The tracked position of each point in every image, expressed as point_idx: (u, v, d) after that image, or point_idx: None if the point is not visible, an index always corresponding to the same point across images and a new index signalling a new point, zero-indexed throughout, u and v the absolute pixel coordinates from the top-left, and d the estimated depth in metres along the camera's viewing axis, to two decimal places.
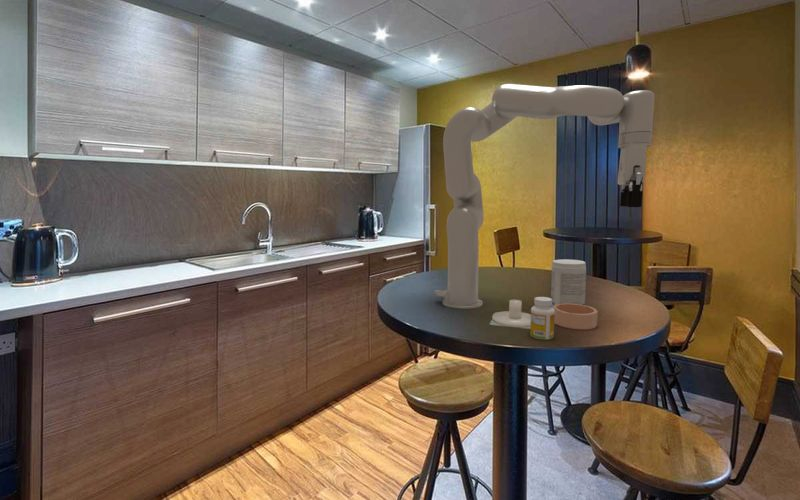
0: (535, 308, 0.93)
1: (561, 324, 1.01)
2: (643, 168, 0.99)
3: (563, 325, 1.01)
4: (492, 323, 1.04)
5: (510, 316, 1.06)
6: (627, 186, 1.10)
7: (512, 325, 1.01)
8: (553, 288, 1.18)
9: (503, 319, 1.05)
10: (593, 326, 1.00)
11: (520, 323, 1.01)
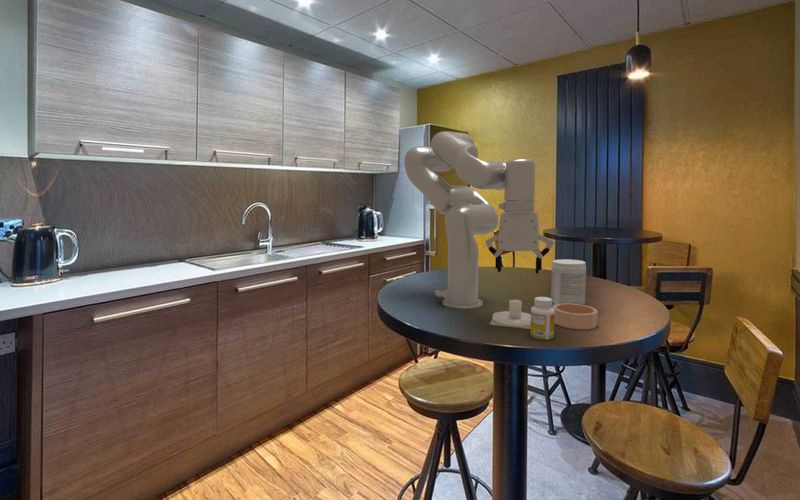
0: (535, 308, 0.93)
1: (561, 324, 1.01)
2: None
3: (563, 325, 1.01)
4: (492, 323, 1.04)
5: (510, 316, 1.06)
6: (496, 251, 1.06)
7: (512, 325, 1.01)
8: (553, 288, 1.18)
9: (503, 319, 1.05)
10: (593, 326, 1.00)
11: (520, 323, 1.01)
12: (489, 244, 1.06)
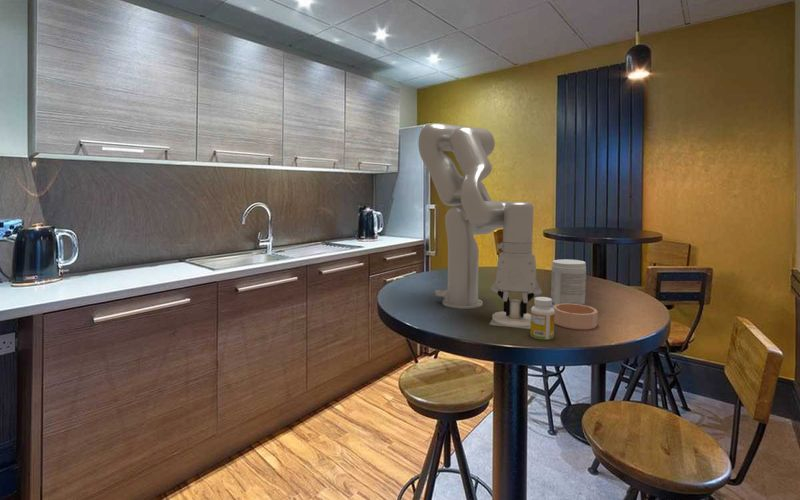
0: (535, 308, 0.93)
1: (561, 324, 1.01)
2: None
3: (563, 325, 1.01)
4: (492, 323, 1.04)
5: (510, 316, 1.06)
6: None
7: (512, 325, 1.01)
8: (553, 288, 1.18)
9: (503, 319, 1.05)
10: (593, 326, 1.00)
11: (520, 323, 1.01)
12: (495, 289, 1.07)
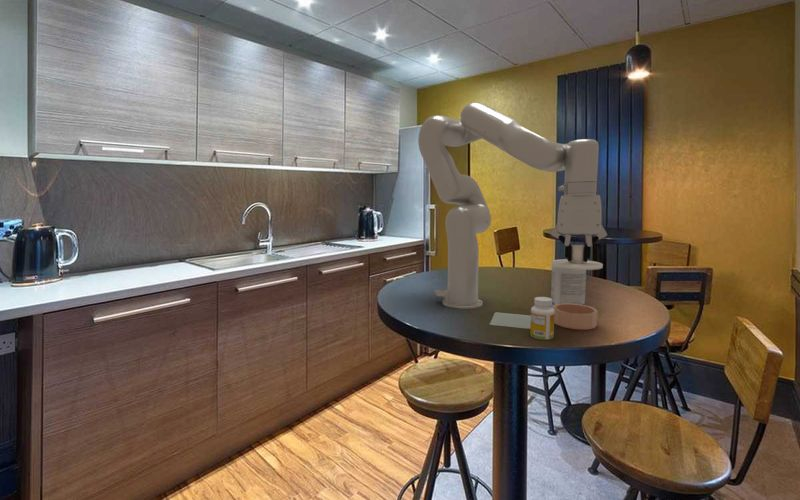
0: (535, 308, 0.93)
1: (561, 324, 1.01)
2: None
3: (563, 325, 1.01)
4: (492, 323, 1.04)
5: (572, 261, 1.01)
6: None
7: (577, 268, 0.96)
8: (553, 288, 1.18)
9: (565, 264, 1.00)
10: (593, 326, 1.00)
11: (585, 266, 0.97)
12: (556, 234, 1.02)
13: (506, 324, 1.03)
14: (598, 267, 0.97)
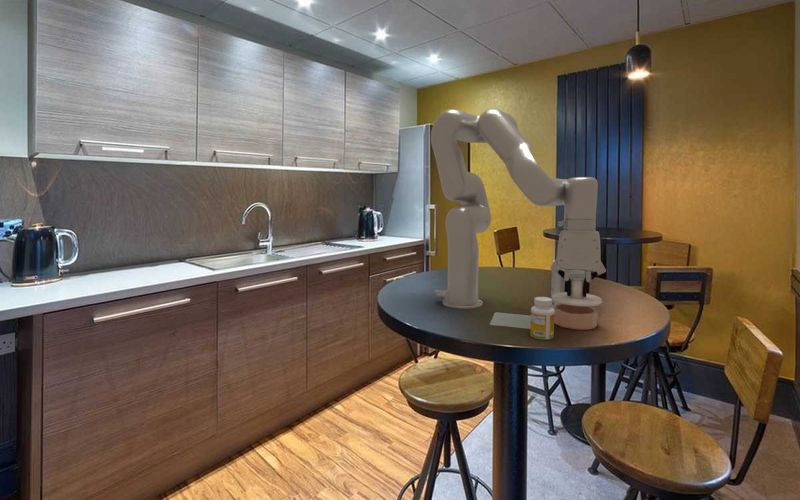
0: (535, 308, 0.93)
1: (561, 324, 1.01)
2: None
3: (563, 325, 1.01)
4: (492, 323, 1.04)
5: (572, 296, 1.02)
6: None
7: (577, 304, 0.98)
8: (553, 288, 1.18)
9: (565, 299, 1.01)
10: (593, 326, 1.00)
11: (585, 302, 0.98)
12: (556, 269, 1.03)
13: (506, 324, 1.03)
14: (597, 303, 0.98)
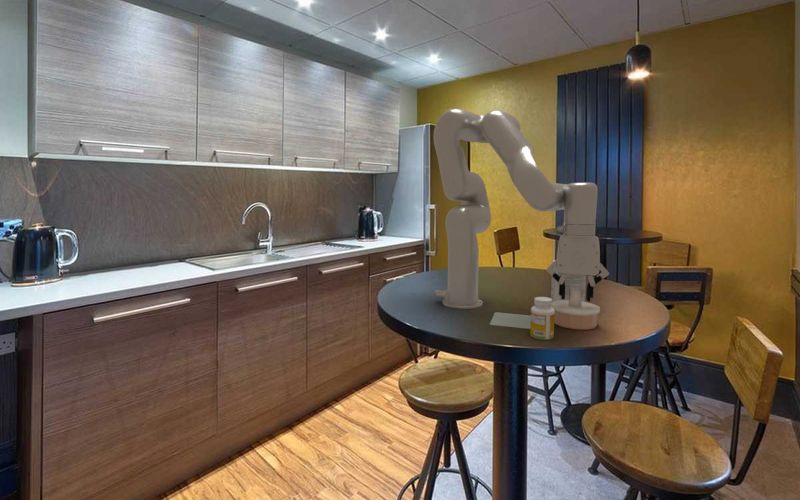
0: (535, 308, 0.93)
1: (561, 324, 1.01)
2: None
3: (563, 325, 1.01)
4: (492, 323, 1.04)
5: (570, 304, 1.03)
6: None
7: (575, 313, 0.98)
8: (553, 288, 1.18)
9: (563, 307, 1.02)
10: (593, 326, 1.00)
11: (583, 311, 0.98)
12: (551, 271, 1.04)
13: (506, 324, 1.03)
14: (595, 312, 0.98)
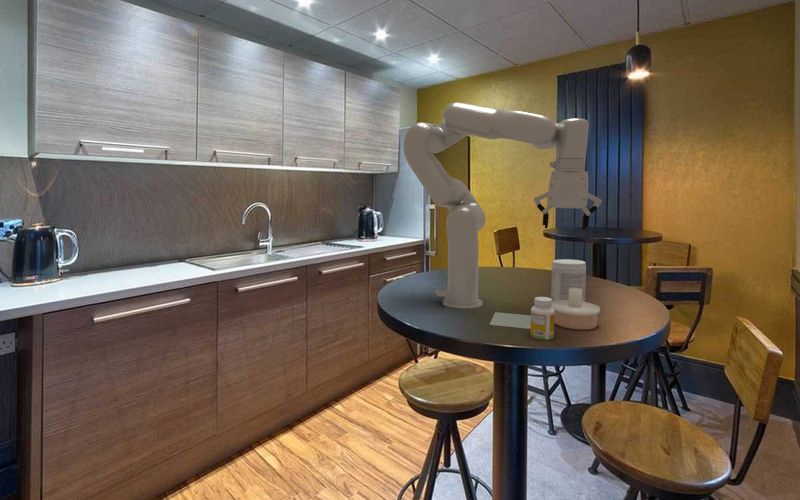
0: (535, 308, 0.93)
1: (561, 324, 1.01)
2: None
3: (563, 325, 1.01)
4: (492, 323, 1.04)
5: (570, 304, 1.03)
6: (544, 208, 1.11)
7: (575, 313, 0.98)
8: (553, 288, 1.18)
9: (563, 307, 1.02)
10: (593, 326, 1.00)
11: (583, 311, 0.98)
12: (538, 201, 1.10)
13: (506, 324, 1.03)
14: (595, 312, 0.98)
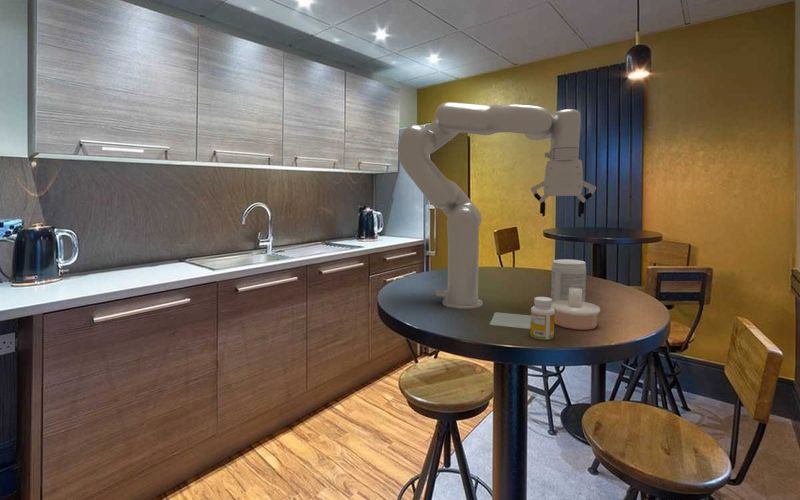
0: (535, 308, 0.93)
1: (561, 324, 1.01)
2: None
3: (563, 325, 1.01)
4: (492, 323, 1.04)
5: (570, 304, 1.03)
6: (541, 197, 1.14)
7: (575, 313, 0.98)
8: (553, 288, 1.18)
9: (563, 307, 1.02)
10: (593, 326, 1.00)
11: (583, 311, 0.98)
12: (534, 191, 1.14)
13: (506, 324, 1.03)
14: (595, 312, 0.98)
